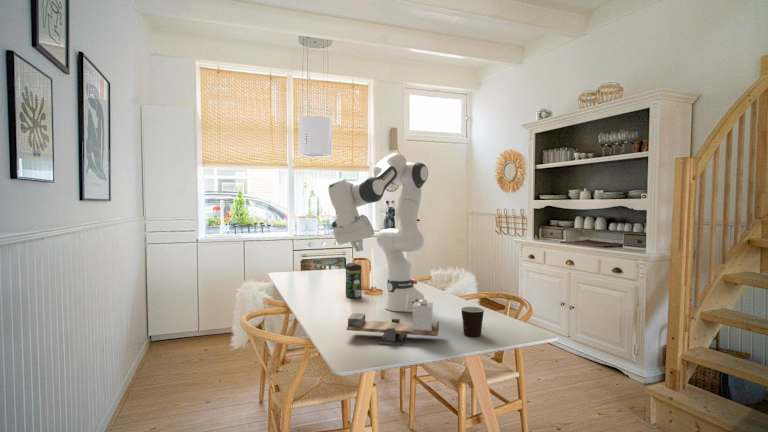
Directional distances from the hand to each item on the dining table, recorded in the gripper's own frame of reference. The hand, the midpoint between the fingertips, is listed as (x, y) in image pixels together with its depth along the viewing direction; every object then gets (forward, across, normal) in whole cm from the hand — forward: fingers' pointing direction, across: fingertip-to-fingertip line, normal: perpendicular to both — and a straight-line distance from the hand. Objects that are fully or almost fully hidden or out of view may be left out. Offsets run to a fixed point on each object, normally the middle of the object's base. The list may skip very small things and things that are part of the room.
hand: (359, 251), depth 170 cm
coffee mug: (+45, -29, -17) cm, 56 cm away
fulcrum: (+34, -10, +8) cm, 37 cm away
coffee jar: (+29, +53, -31) cm, 68 cm away
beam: (+30, -11, +7) cm, 33 cm away
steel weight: (+34, -20, +1) cm, 39 cm away
